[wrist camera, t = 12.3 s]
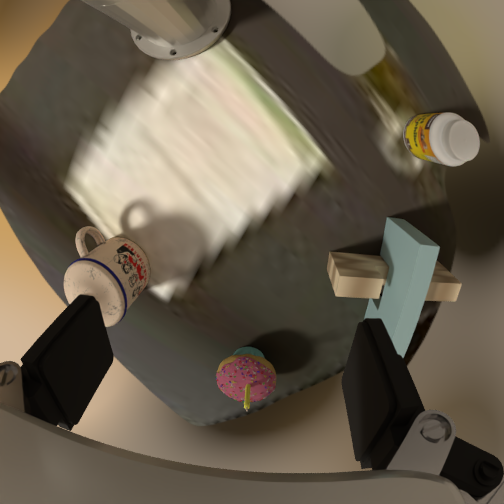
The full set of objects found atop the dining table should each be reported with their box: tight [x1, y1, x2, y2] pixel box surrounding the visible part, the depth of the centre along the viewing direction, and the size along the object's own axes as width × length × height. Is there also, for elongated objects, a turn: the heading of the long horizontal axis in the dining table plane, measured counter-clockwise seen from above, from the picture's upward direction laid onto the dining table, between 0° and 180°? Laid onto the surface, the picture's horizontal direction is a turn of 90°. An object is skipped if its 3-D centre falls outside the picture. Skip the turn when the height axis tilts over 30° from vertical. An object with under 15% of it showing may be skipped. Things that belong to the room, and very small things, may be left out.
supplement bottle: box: [403, 112, 480, 166], centre depth 26 cm, size 6×6×10 cm
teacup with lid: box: [64, 227, 150, 327], centre depth 34 cm, size 12×9×12 cm
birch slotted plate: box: [327, 252, 462, 301], centre depth 34 cm, size 16×2×7 cm, turn 87°
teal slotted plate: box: [364, 217, 440, 358], centre depth 33 cm, size 16×2×10 cm, turn 177°
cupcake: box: [216, 347, 276, 411], centre depth 39 cm, size 9×8×12 cm
